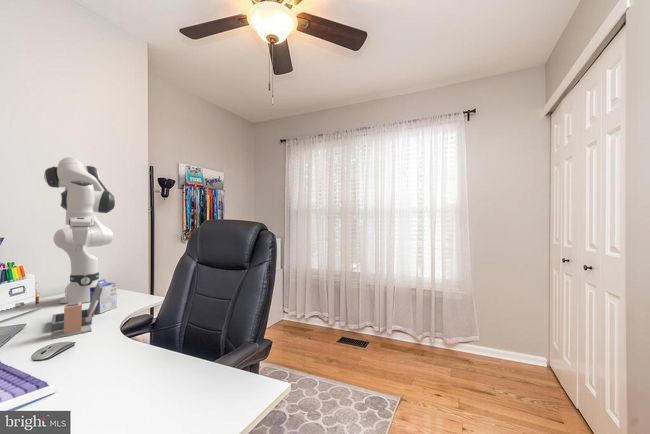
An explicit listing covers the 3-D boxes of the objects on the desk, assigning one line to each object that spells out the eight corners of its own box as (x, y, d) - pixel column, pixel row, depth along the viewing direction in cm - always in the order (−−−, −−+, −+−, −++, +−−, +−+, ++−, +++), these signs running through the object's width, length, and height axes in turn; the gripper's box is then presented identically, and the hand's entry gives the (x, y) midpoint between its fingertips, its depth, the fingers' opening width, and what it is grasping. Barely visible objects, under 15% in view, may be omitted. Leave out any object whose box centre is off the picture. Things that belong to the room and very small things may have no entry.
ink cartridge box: (107, 306, 140) (107, 277, 140) (117, 307, 140) (118, 278, 140) (88, 313, 131) (89, 282, 131) (99, 314, 130) (100, 282, 130)
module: (63, 330, 110) (64, 303, 110) (80, 327, 113) (81, 300, 113) (63, 334, 106) (64, 306, 106) (81, 330, 110) (81, 303, 110)
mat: (53, 332, 109) (53, 331, 109) (90, 325, 116) (90, 324, 116) (52, 339, 103) (52, 337, 103) (91, 331, 111) (91, 330, 111)
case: (52, 321, 120) (53, 287, 120) (99, 313, 130) (99, 281, 130) (51, 333, 108) (52, 295, 108) (102, 323, 119) (103, 288, 119)
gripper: (69, 218, 123) (68, 250, 123) (70, 221, 108) (68, 257, 108) (88, 219, 127) (87, 249, 127) (91, 222, 112) (90, 256, 112)
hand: (78, 253), depth 118 cm, fingers open, 8 cm apart
